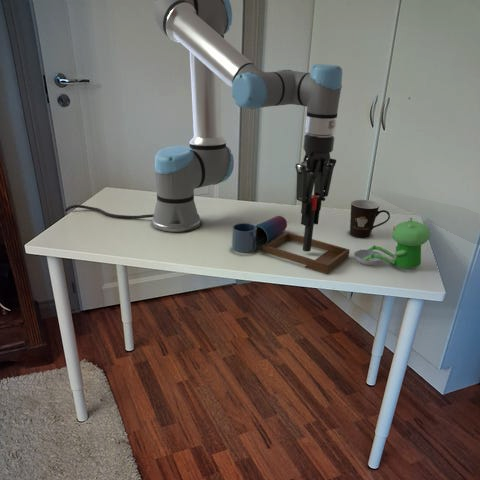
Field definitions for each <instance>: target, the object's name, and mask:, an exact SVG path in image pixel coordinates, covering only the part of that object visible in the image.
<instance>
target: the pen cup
mask: <svg viewBox="0 0 480 480" xmlns="http://www.w3.org/2000/svg"><path fill="white" fill-rule="evenodd" d="M255 225H256V224H252V223H249V222H248V223H246V222H240V223H235V224H233V225H232V226H231V250H232V251H233V252H234V253H235V252H236V253H239V254H250V253H254V252H255V251H256V249H257V243H256V239H257V227H256V226H255Z"/></svg>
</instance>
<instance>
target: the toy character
mask: <svg viewBox="0 0 480 480" xmlns="http://www.w3.org/2000/svg"><path fill="white" fill-rule="evenodd" d="M391 236H392V238H393V240H394V242H396V243H397V244H396V246H395V247H394V248H395V252H394V253H393V252H391V251H389V250H388V249H386V248H384V247H381V246H377V245H372V246H370V247H369V248H367V249H366V250H373V251H380V252H382V253H384V254H385V255H388V256H389V257H391V258H389V257H386V256H384V255H383V256H381V255H377V254H372V255H370V256H368V257H366V258H364V259H363V260H366V261H367V260H369V259H371V258H379V259H382V260H383V261H385V262H387V263H390V264H392V265H393V266H397V267H400V268H404V269H413V268H418V267H420V266H421V264H422V245H424V244H426V243H427V242H428V241H429V239H430V237H431V231H430V228H428V226H427V225H426V224H424V223H423V222H422V223H421V222H419V221H414V219H413V217H409V218H408V221H402V222H399V223H398V224H396V225H395V226H393V227H392V231H391ZM360 264H361V265H363V264H362V263H360Z"/></svg>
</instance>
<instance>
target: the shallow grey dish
mask: <svg viewBox="0 0 480 480" xmlns="http://www.w3.org/2000/svg"><path fill="white" fill-rule="evenodd" d="M372 254H377V255H381V256H384V255H383V254H382V253H380V252H379V251H377V250H367V249H360V250H359V249H358V250H356V251H354V253H353V256H354V259H355V261H356V262H359V263H360V264H361V263H362V264H361V265H367V266H375V265H376V266H377V265H379V264H381V263H382V262H383V261H384V260H382V259H379V258H371V259H369V260H367V261H366V260H363V259H364V258H366V257H368V256H370V255H372Z"/></svg>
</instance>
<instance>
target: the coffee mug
mask: <svg viewBox="0 0 480 480" xmlns="http://www.w3.org/2000/svg"><path fill="white" fill-rule="evenodd" d="M379 209H380V204H379V202H376V201H373V200H368V199H353V200H352V201H351V202H350V219H349V235H350V236H351V237H354V238H357V239H368V238H369V237H371V235H372V234H371V233H372V231H373V230H374V229H375V228H377V227H380V226H382V225H384V224H386V223H387V222H388V221H389V220H390V218H391V213H390V212H389V211H388V210H385V209H381V210H379ZM381 213H386V215H387V218H386V219H385V220H384V221H382V222H381V223H378V224H375V222H376V221H375V220H376V218H377V217H378V216H379V215H380V214H381ZM374 224H375V225H374Z"/></svg>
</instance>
